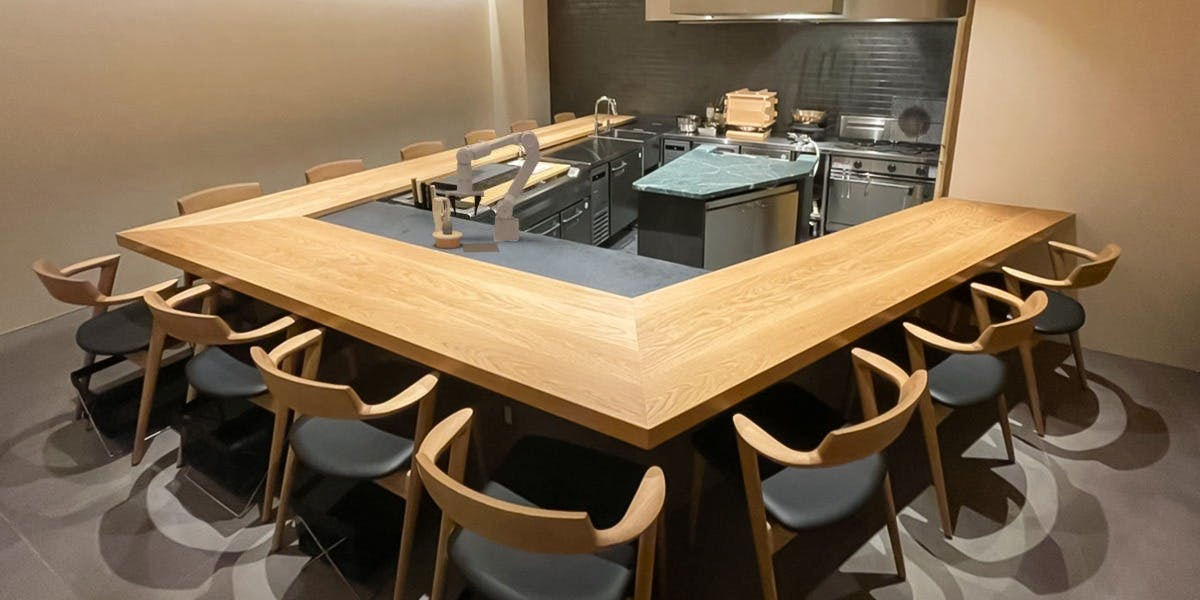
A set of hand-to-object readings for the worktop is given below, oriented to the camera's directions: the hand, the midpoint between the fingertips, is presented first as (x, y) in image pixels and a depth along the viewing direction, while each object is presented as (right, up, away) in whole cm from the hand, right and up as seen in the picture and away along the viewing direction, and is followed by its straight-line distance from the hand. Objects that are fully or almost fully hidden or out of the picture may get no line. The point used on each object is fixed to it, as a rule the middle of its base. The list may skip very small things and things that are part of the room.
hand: (465, 215), depth 261 cm
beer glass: (-11, -7, +8) cm, 16 cm away
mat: (+8, -14, -9) cm, 18 cm away
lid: (-5, -9, -9) cm, 14 cm away
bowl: (-5, -13, -8) cm, 16 cm away
